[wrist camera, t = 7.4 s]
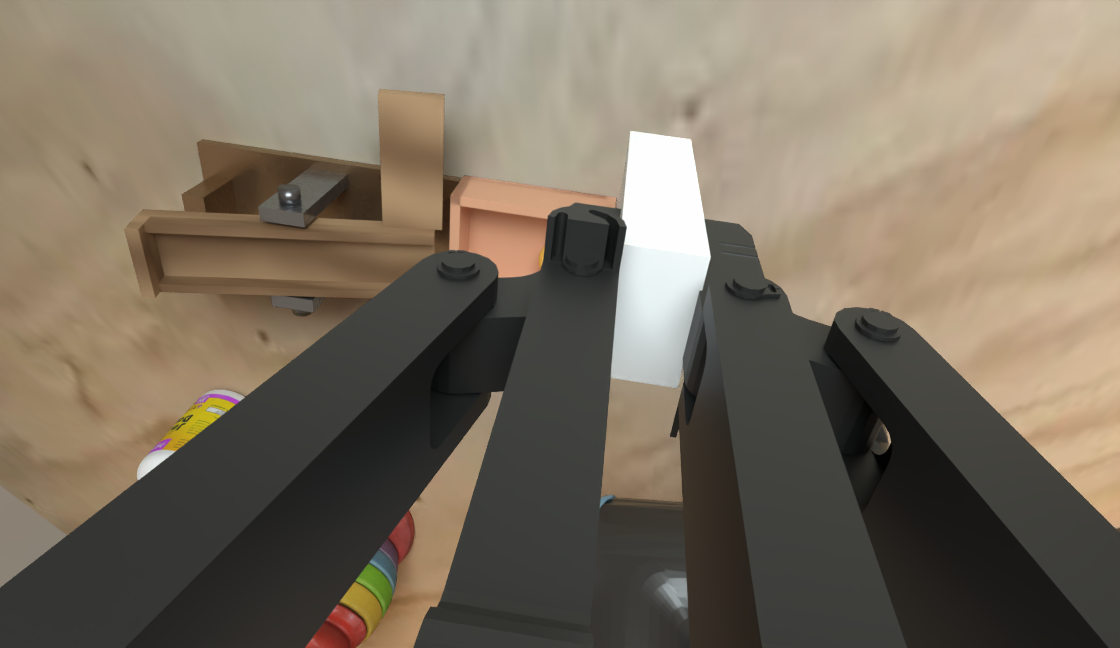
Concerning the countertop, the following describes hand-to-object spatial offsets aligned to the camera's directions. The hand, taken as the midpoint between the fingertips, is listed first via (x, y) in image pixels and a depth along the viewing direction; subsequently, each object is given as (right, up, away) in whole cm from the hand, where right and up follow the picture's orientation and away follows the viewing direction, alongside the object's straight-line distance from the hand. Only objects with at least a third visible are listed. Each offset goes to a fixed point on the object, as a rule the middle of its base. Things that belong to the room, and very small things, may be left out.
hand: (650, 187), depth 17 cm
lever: (-20, +5, +28) cm, 35 cm away
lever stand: (-20, +5, +36) cm, 41 cm away
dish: (-4, +3, +35) cm, 35 cm away
